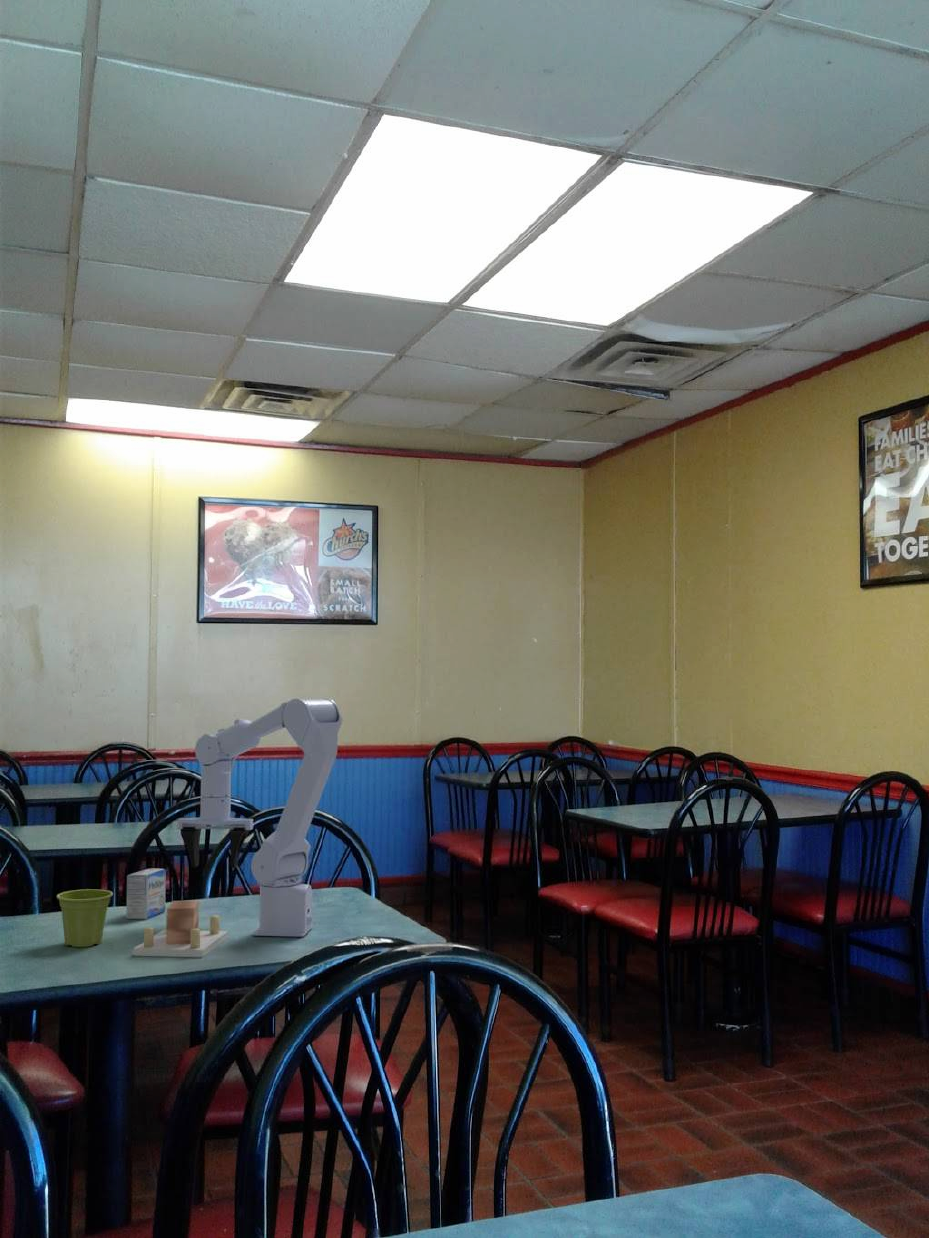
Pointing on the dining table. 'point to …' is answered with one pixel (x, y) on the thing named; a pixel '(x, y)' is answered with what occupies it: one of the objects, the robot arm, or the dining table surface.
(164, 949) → the standoff plate
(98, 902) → the plant pot
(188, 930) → the board block
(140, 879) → the medicine box
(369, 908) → the dining table surface
